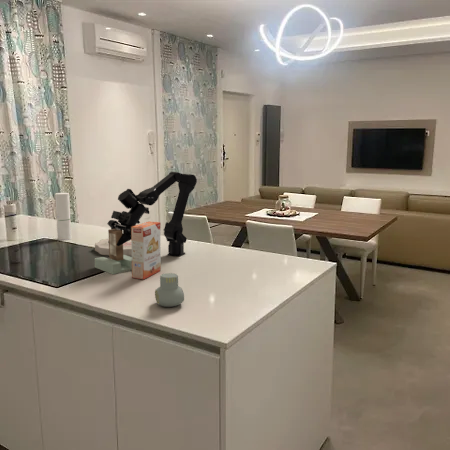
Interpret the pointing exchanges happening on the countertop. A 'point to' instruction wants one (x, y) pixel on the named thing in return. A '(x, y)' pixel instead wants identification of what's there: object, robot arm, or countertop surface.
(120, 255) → the photo frame
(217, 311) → the countertop surface
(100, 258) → the frame stand
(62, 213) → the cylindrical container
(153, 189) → the robot arm
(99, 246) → the decorative plaque
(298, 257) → the countertop surface
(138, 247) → the cracker box
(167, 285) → the air freshener
